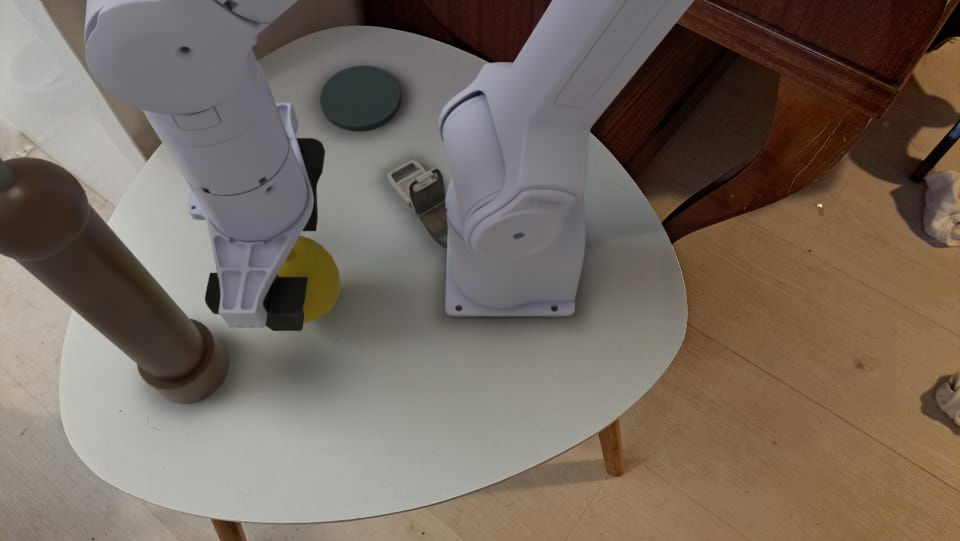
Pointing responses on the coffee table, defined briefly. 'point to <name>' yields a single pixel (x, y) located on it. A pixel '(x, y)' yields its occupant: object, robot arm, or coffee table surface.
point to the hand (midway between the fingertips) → (295, 274)
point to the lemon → (313, 276)
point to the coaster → (360, 98)
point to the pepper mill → (103, 279)
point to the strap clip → (423, 197)
